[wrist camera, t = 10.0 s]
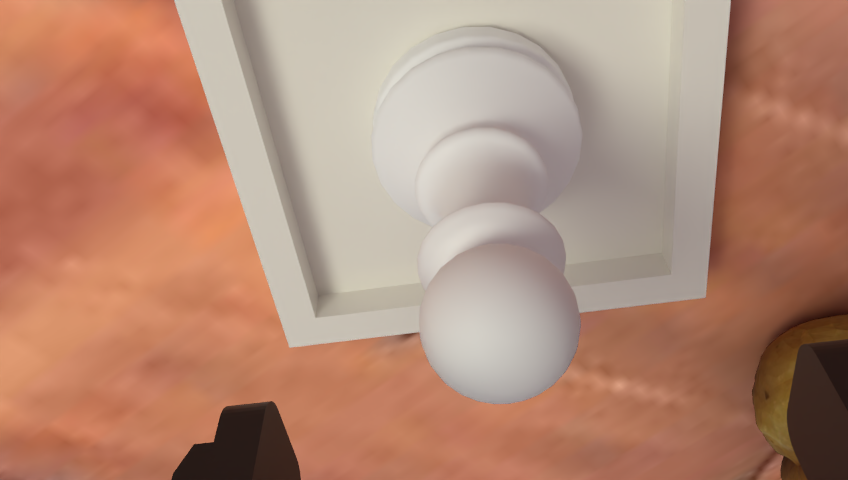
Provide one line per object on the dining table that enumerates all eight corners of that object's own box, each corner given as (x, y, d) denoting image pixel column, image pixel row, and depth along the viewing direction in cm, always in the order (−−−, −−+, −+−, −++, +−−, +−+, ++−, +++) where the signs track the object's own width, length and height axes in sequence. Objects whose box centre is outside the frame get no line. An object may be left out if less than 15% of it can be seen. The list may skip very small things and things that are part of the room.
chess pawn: (497, -21, 18) (553, 197, 11) (609, 132, 21) (716, 396, 13) (331, 103, 20) (286, 362, 13) (452, 231, 22) (471, 511, 15)
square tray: (718, -182, 17) (744, -169, 16) (689, 262, 24) (705, 297, 23) (167, -94, 18) (149, -75, 16) (295, 311, 25) (289, 347, 24)
